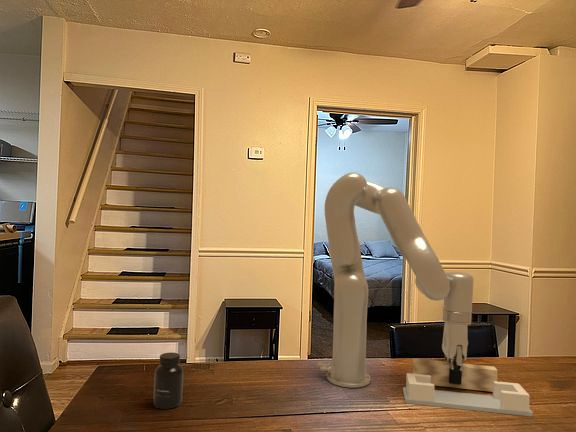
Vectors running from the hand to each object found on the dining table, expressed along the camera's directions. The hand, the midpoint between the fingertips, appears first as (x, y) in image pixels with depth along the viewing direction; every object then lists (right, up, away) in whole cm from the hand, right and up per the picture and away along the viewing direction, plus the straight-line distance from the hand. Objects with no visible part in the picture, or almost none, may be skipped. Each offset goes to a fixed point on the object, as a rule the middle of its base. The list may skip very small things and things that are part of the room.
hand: (453, 380), depth 119 cm
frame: (-1, -2, -10) cm, 10 cm away
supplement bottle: (-76, 0, -15) cm, 78 cm away
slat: (0, -1, 0) cm, 1 cm away
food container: (+8, -2, +17) cm, 19 cm away
